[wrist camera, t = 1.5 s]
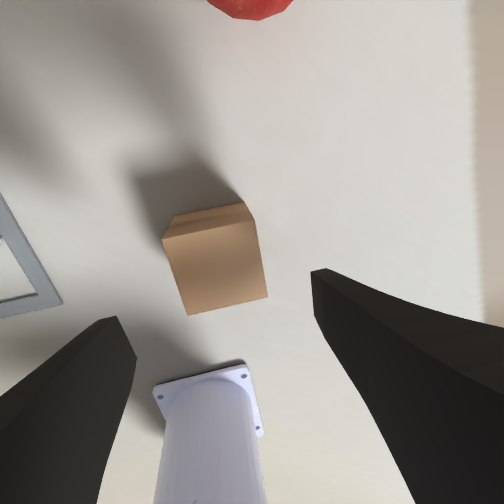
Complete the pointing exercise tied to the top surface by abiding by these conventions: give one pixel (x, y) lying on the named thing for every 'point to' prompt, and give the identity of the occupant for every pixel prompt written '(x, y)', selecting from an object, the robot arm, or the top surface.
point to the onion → (251, 8)
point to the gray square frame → (25, 269)
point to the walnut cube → (215, 258)
